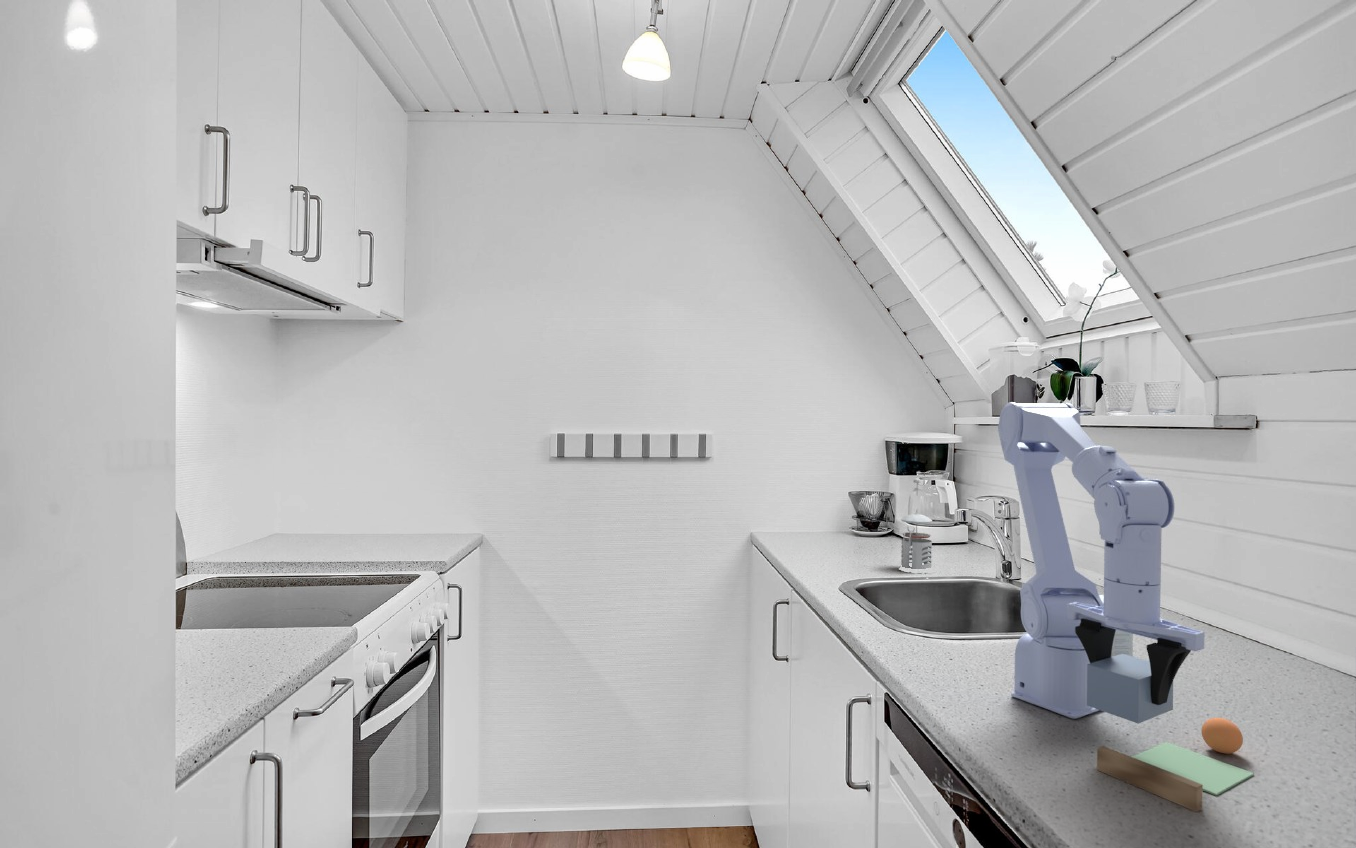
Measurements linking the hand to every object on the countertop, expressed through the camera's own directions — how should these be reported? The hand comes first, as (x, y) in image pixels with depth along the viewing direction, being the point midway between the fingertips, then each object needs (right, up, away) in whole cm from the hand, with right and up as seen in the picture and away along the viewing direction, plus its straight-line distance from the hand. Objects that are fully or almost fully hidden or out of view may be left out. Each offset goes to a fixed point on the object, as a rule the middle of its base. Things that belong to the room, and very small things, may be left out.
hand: (1129, 693), depth 84 cm
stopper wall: (-3, -8, -8) cm, 11 cm away
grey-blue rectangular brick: (0, -2, 0) cm, 2 cm away
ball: (+12, -6, +1) cm, 13 cm away
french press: (+10, -8, +105) cm, 106 cm away
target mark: (+5, -8, -3) cm, 10 cm away
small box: (+17, -8, +34) cm, 39 cm away
